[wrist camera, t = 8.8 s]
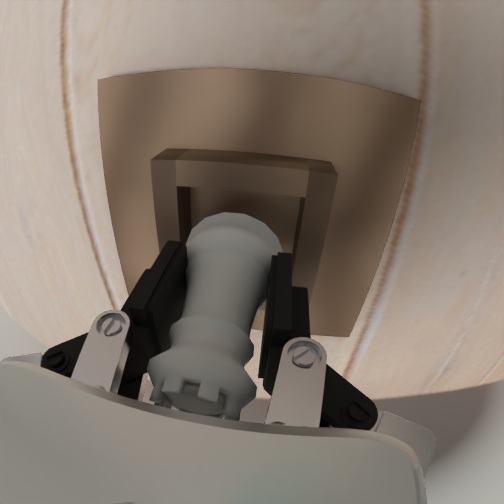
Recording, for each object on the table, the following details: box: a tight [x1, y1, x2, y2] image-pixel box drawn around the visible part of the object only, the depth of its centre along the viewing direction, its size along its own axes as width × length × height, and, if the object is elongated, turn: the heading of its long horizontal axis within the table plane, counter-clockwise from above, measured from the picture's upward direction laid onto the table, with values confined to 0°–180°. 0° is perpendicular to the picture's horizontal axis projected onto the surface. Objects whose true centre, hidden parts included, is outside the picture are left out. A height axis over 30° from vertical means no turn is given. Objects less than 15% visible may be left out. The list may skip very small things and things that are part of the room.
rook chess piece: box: [147, 212, 283, 421], centre depth 10 cm, size 4×4×8 cm
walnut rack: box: [98, 69, 421, 337], centre depth 15 cm, size 16×16×3 cm
